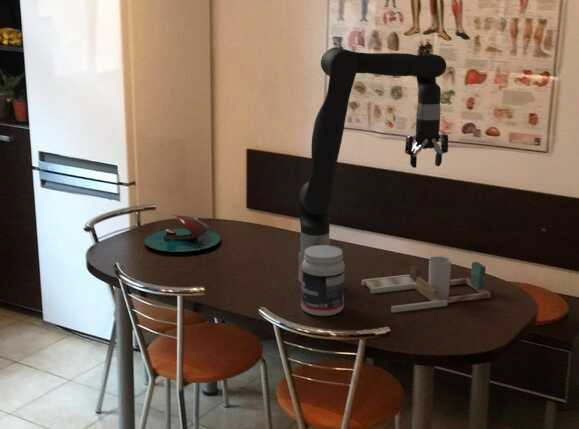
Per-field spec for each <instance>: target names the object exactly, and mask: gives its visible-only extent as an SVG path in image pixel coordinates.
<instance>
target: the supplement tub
mask: <svg viewBox="0 0 579 429" xmlns="http://www.w3.org/2000/svg"><path fill="white" fill-rule="evenodd" d="M343 253H344V252H343V250H342V249H341V248H340V247H338V246H335V245H334V246H333V245H329V246H327V245H318V246H312V247H309V248H307V249H306V250H305V252H304V258H305V259H304V261H303V262H302V266H301V267H302V284H301V283H300V284H301V293H300V294H301V296H300V298H301V299H300V300H301V301H300V302H301V303H300V305H301V308H302V310H303V312H305V313H308V314H310V315H312V316H317V317H327V316H329V317H330V316H334V315H336V314H339V313H341V311H342V310H344V306H345V276H346V275H345V274H346V273H345V271H346V269H345V268H346V264H345V262H344V260H343V259H344V254H343Z"/></svg>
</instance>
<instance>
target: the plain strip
mask: <svg viewBox="0 0 579 429" xmlns="http://www.w3.org/2000/svg"><path fill="white" fill-rule="evenodd" d="M409 275H410V276H409V277H400V278H391V279H382V280H373V281H365V285H364V286H366V287H367V288H368V289H369V290H370V291H371V288H372V287H380V286H389V285H398V284H406V283H415V282H416V277H420V278H421V269H420V267H418V266H417V265H415V264H414V265H410V266H409Z"/></svg>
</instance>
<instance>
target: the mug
mask: <svg viewBox="0 0 579 429" xmlns="http://www.w3.org/2000/svg"><path fill="white" fill-rule="evenodd" d="M428 260H429V261H428V281H427V283H428V284H430V285H431V286H432V287H434V288H435V289H436V290H437V298H445V297H450V296H449V294H450V286H451V285H450V280H451V272H452V270H451V269H452V259H451V258H449V257H446V256H438V255H437V256H432V257H430V258H429V259H428Z"/></svg>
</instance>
